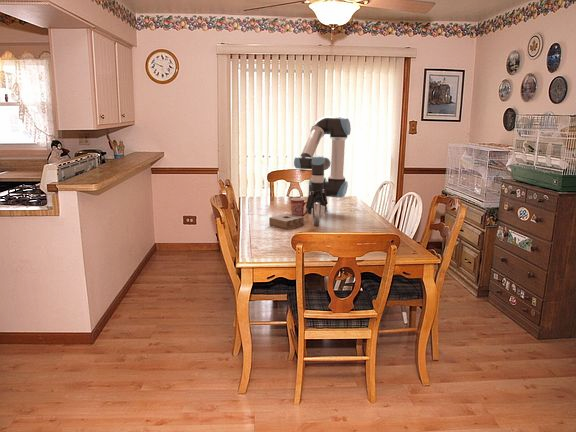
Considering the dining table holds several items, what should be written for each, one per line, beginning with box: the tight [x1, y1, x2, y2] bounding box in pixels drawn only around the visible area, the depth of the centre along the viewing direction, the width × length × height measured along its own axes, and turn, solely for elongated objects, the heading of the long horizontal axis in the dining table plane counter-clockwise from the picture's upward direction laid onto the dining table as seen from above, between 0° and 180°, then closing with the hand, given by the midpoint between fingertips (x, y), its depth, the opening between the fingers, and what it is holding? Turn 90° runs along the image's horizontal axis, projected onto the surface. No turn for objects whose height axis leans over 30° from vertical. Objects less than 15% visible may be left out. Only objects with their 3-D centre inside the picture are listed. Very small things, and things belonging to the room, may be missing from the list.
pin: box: [313, 203, 320, 227], centre depth 291 cm, size 3×3×14 cm
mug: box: [290, 197, 308, 218], centre depth 305 cm, size 13×9×14 cm
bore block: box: [268, 213, 305, 230], centre depth 291 cm, size 16×14×5 cm
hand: (316, 217), depth 291 cm, fingers open, 11 cm apart
